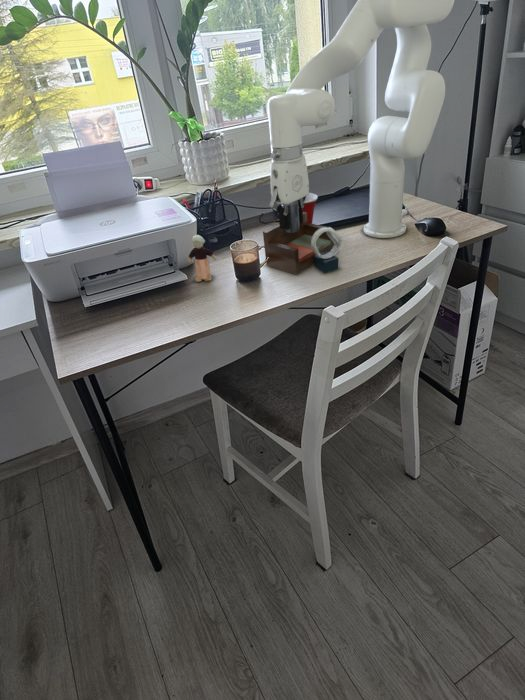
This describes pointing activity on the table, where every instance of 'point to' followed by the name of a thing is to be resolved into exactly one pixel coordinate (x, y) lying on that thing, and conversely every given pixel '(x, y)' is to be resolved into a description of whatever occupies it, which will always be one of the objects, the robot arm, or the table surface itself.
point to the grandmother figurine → (201, 259)
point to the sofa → (294, 247)
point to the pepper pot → (293, 217)
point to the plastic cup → (310, 206)
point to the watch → (327, 259)
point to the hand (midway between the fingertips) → (291, 224)
